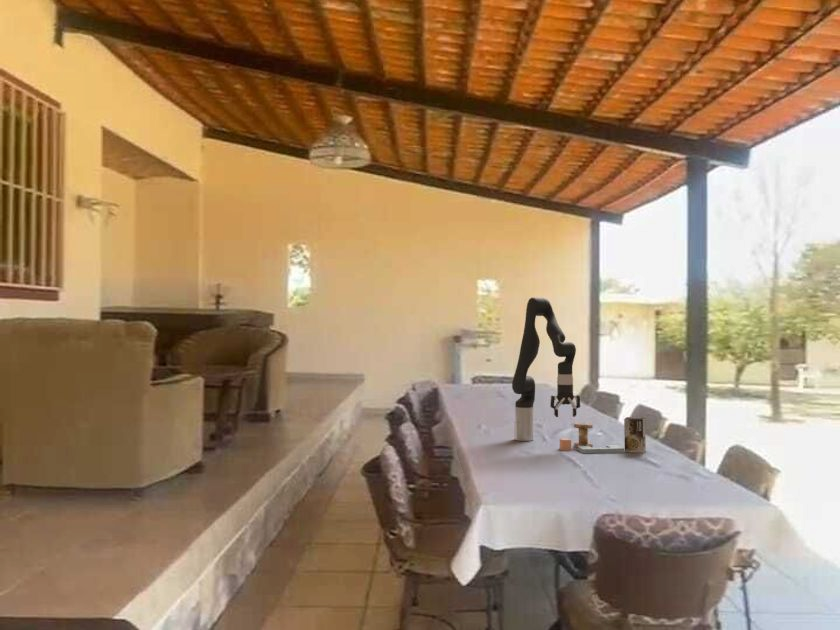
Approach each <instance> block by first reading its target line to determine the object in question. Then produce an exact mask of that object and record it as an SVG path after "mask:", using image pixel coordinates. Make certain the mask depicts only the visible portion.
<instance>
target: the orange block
mask: <svg viewBox="0 0 840 630" xmlns="http://www.w3.org/2000/svg"><path fill="white" fill-rule="evenodd" d="M559 450H561V451H571V450H572V439H570V438H559Z"/></svg>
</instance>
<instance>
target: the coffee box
mask: <svg viewBox="0 0 840 630" xmlns="http://www.w3.org/2000/svg"><path fill="white" fill-rule="evenodd" d="M623 421H624V422H623V424H624V425H623V427H624V428H623V429H624V430H623V431H624V453H639V454H640V453H641V454H644V453H645V452H646V447H647V446H646V442H647V441H646V417H636V416H635V417H634V416H630V417H629V416H627V417H625V418H623Z"/></svg>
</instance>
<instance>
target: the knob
mask: <svg viewBox="0 0 840 630" xmlns="http://www.w3.org/2000/svg"><path fill="white" fill-rule="evenodd" d="M573 428H574V429H578V441H576V442H573V447H574V448H577V446H590V447H592V448H594V447H593V442H588V441H589V440H588V439H589V431H588V429H593V423H586V422H585V423H584V422H580V423H579V422H577V423H573Z"/></svg>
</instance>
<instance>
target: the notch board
mask: <svg viewBox="0 0 840 630" xmlns="http://www.w3.org/2000/svg"><path fill="white" fill-rule="evenodd" d="M605 446H606V447H590V446H577V447H576V449H577V451H578V452H580V453H582V454H615V453H616V454H617V453H619V454H620V453H622V452H624V453H625V447H622V446H621V445H618V444H606V445H605Z"/></svg>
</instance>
